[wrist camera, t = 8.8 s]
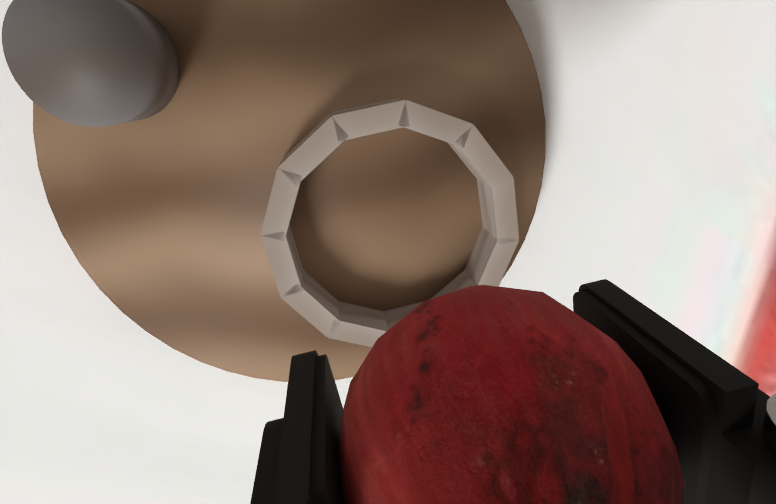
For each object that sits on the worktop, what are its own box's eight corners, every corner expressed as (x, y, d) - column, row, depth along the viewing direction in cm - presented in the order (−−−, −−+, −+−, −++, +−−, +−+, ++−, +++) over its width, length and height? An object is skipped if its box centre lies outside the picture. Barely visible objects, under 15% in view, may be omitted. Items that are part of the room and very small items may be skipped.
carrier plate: (-56, -53, 16) (-186, -100, 12) (511, -160, 17) (569, -236, 13) (169, 406, 25) (138, 472, 20) (544, 313, 26) (587, 357, 22)
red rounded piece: (351, 222, 10) (415, 575, 3) (573, 248, 11) (1049, 559, 4) (323, 422, 12) (319, 945, 5) (516, 429, 13) (759, 869, 6)
